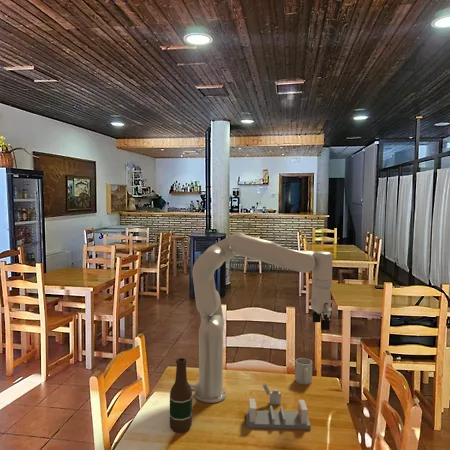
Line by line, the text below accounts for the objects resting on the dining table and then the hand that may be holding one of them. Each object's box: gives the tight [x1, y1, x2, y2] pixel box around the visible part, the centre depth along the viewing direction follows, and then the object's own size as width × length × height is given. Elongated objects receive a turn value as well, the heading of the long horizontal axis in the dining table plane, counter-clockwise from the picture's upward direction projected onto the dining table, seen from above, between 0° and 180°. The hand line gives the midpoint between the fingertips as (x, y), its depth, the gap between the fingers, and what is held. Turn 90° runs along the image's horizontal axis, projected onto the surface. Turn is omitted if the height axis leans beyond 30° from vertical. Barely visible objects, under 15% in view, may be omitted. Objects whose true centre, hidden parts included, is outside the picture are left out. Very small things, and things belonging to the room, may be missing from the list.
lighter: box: [262, 382, 282, 406], centre depth 158 cm, size 7×2×8 cm, turn 93°
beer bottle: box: [169, 357, 193, 434], centre depth 140 cm, size 8×8×24 cm
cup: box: [294, 357, 313, 386], centre depth 176 cm, size 7×10×9 cm
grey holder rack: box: [245, 398, 312, 431], centre depth 145 cm, size 22×9×6 cm, turn 89°
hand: (320, 325), depth 160 cm, fingers open, 9 cm apart
